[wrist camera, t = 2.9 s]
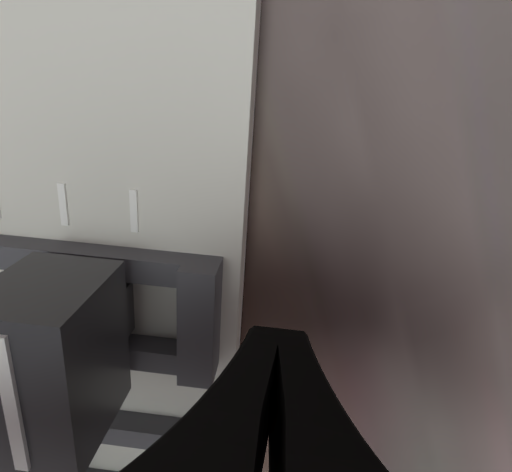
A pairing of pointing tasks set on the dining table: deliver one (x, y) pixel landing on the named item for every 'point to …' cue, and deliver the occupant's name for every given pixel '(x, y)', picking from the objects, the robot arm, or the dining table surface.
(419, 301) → the dining table surface
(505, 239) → the dining table surface
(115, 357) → the fader knob
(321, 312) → the dining table surface
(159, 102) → the mixing board
